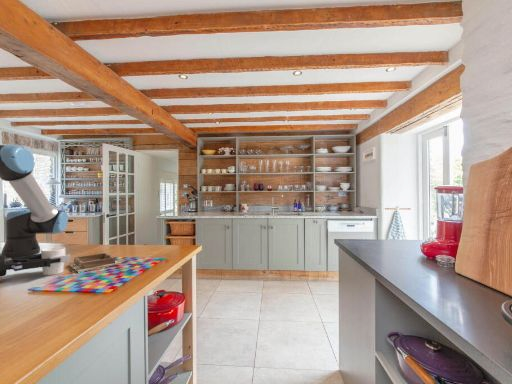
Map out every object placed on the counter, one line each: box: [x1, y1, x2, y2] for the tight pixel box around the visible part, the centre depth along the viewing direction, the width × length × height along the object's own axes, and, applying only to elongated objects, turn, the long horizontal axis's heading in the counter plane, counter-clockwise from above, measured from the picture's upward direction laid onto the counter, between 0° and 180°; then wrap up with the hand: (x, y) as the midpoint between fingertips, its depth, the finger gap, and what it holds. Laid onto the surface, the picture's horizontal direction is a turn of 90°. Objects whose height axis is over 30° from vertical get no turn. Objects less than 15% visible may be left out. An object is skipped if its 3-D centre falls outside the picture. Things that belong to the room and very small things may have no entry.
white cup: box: [40, 246, 66, 276], centre depth 106 cm, size 8×8×10 cm
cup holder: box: [68, 252, 121, 273], centre depth 117 cm, size 16×16×4 cm
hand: (67, 256), depth 110 cm, fingers closed on white cup, 8 cm apart
